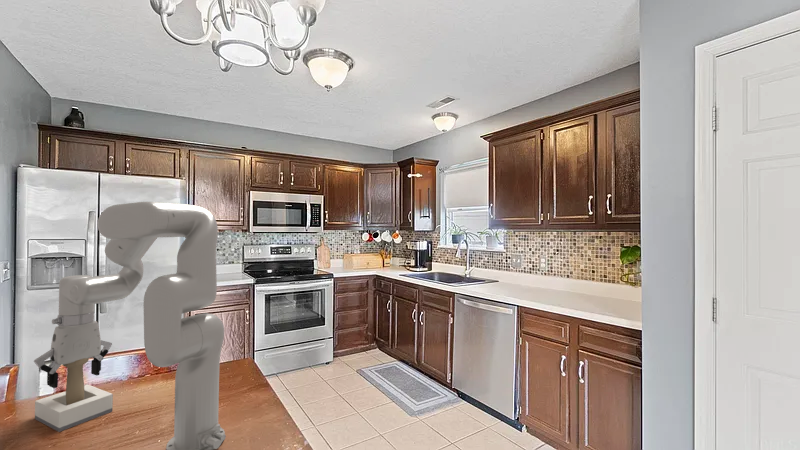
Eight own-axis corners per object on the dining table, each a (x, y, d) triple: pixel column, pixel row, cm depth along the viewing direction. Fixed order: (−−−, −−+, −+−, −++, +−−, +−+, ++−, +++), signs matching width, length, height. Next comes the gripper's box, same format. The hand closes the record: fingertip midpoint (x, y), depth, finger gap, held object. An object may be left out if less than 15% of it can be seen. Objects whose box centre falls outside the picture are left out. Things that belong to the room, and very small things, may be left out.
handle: (74, 417, 99) (74, 362, 100) (56, 414, 101) (56, 360, 101) (92, 408, 104) (92, 356, 104) (76, 406, 106) (76, 354, 106)
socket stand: (112, 411, 105) (112, 394, 105) (59, 431, 94) (59, 412, 94) (87, 400, 111) (87, 384, 111) (34, 418, 100) (35, 400, 100)
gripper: (42, 328, 94) (40, 395, 93) (118, 314, 109) (117, 372, 109) (29, 324, 97) (27, 389, 97) (105, 311, 112) (104, 367, 112)
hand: (75, 380), depth 103 cm, fingers open, 9 cm apart
